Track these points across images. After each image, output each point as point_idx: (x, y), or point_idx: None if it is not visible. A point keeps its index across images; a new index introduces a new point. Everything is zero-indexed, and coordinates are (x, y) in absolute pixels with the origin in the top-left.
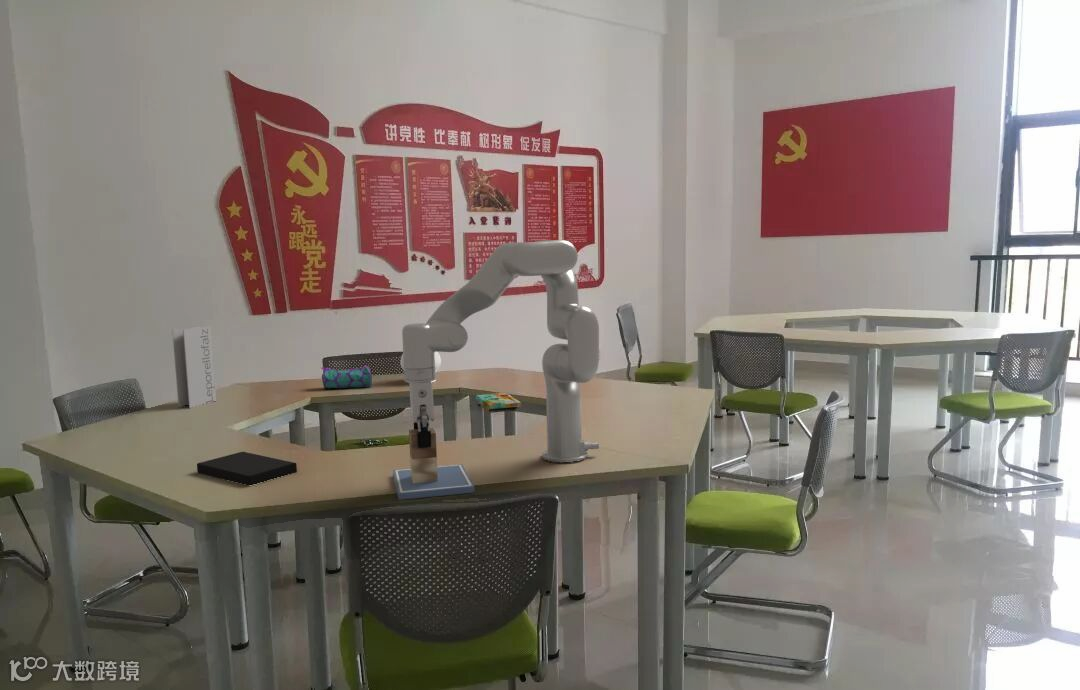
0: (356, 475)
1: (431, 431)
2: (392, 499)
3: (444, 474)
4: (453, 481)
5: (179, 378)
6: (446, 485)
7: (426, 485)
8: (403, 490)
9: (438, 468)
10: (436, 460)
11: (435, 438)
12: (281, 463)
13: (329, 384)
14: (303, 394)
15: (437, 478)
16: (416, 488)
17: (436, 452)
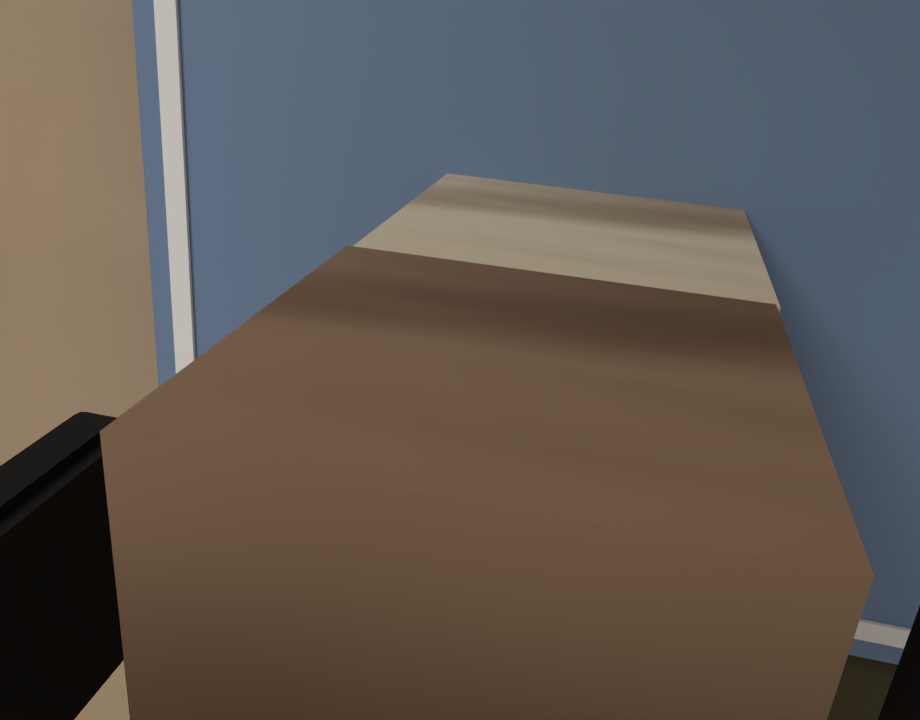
0: (106, 701)
1: (540, 600)
2: (894, 668)
3: (500, 59)
4: (880, 14)
5: None
6: None
7: (850, 370)
8: (888, 613)
9: (222, 73)
10: (770, 293)
11: (841, 497)
12: None
13: None
14: None
15: (633, 184)
16: (900, 491)
17: (787, 337)
